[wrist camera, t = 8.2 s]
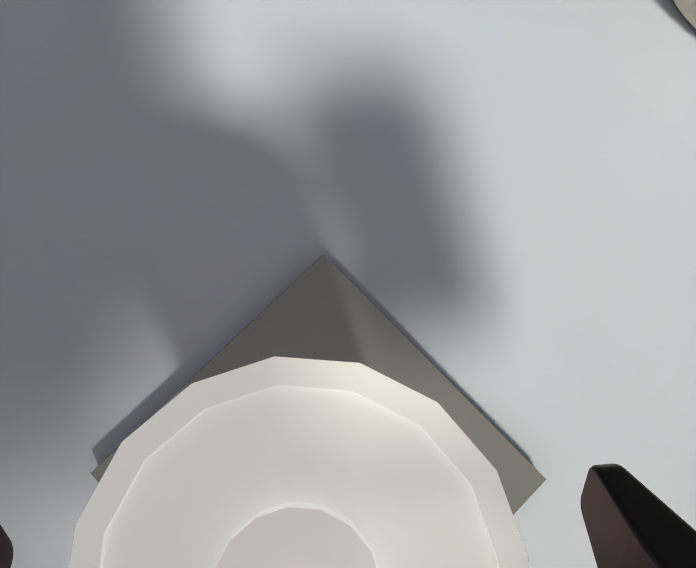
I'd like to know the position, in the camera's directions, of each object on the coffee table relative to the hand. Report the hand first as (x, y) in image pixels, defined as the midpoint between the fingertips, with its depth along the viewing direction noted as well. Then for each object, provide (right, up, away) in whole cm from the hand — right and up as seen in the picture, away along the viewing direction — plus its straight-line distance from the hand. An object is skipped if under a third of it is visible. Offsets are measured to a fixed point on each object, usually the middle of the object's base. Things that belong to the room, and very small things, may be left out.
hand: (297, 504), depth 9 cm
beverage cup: (0, -2, +8) cm, 8 cm away
